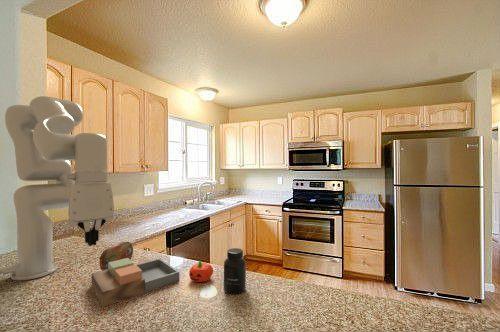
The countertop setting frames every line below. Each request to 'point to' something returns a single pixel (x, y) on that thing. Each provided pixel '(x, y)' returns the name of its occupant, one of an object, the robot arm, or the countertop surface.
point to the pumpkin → (200, 272)
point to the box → (158, 274)
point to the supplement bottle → (234, 272)
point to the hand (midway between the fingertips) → (91, 244)
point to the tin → (116, 254)
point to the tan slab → (114, 288)
